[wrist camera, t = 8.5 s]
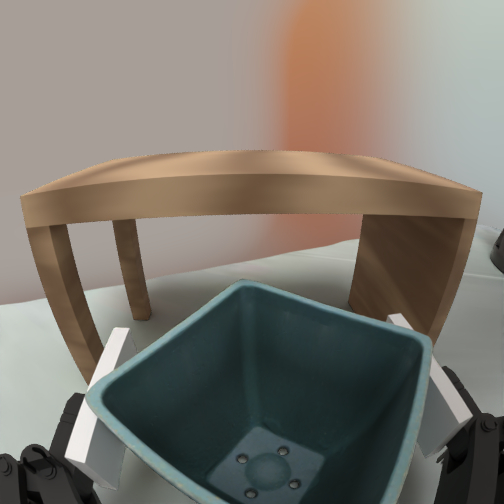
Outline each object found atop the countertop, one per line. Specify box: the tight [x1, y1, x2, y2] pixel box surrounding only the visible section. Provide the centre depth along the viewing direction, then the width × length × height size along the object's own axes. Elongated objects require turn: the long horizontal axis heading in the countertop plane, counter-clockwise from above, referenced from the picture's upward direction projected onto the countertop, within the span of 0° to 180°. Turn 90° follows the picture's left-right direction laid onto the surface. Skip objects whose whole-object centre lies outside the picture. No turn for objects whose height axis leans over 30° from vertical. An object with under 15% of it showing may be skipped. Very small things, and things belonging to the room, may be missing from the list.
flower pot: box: [85, 279, 433, 504], centre depth 9 cm, size 9×9×9 cm
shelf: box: [20, 150, 482, 386], centre depth 18 cm, size 22×12×14 cm, turn 95°
